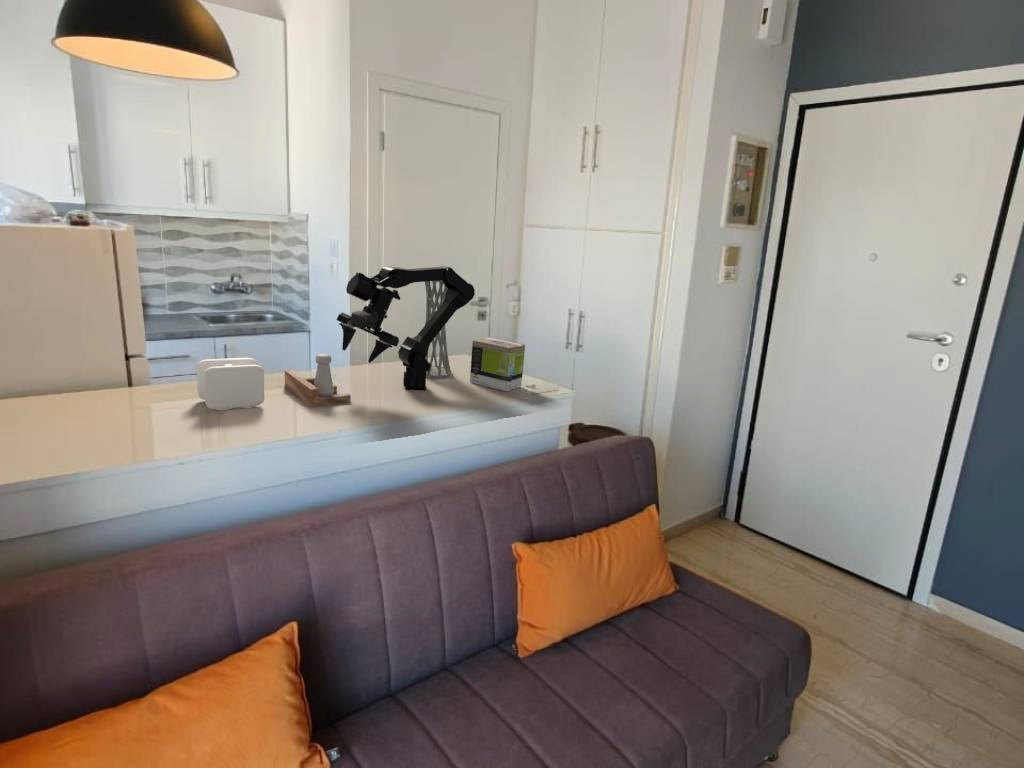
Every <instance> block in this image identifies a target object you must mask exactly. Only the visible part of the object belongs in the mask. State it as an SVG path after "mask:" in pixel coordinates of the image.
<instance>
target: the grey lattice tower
mask: <svg viewBox="0 0 1024 768" xmlns="http://www.w3.org/2000/svg"><path fill="white" fill-rule="evenodd" d="M431 283H432V286H431ZM437 283H439V287H438V290H437ZM424 285H425V292H426V299H425V300H426V303H425V305H426V306H425V308H426V309H425V314H426V315H425V324H424V326H425V325H426V323H427V322H428V321H429V320H430V318H431V317H432V316H433V315H434V313H435V312H436V311H437V310H438V308H439V307H440V306H441V305H442V303H443V302H444V300H445V295H446V292H447V290H448V288H447V287H446V286H445V285H444V283H443V281H442V280H437V281H426V282H424ZM443 288H444V289H443ZM434 299H435V300H434ZM439 300H440V301H439ZM446 333H447V331H446V325H445V326H444V327H443V328H442V329H441V331H440V332H439V333H438V335H437V336H436V337H435V338H434V340H433V341H432V342H431V343H432V352H431V356H430V361H429V353H428V354H427V356H426V358H425V359H426V360H427V361H428V362H429V363H430V364H431V367H430V370H429V371H426V379H433V380H434V379H436V380H437V379H445V378H450V377H451V376H453V372H452V369H451V366H450V360H449V359H450V358H449V355H448V345H447V334H446ZM437 343H438V344H437ZM437 345H438V346H439V355H438V358H437ZM430 346H431V344H430V345H429V347H430ZM433 362H434V365H433Z"/></svg>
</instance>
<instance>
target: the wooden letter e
mask: <svg viewBox="0 0 1024 768" xmlns="http://www.w3.org/2000/svg"><path fill="white" fill-rule="evenodd" d="M314 381H315V376H313V377H306V378H305V377H304V378H303V377H302V376H301V375H300V374H298V373H297V372H295V371H293V370H291V369H287V370H284V388H286V389H287V390H288V391H289V392H291V393H292V394H293V395H295V396H296V397H297V398H299V399H300V400H301V401H303V402H304V403H305V404H307V405H308V407H311V408H312V407H313V408H314V407H321V406H328V405H337V404H344V403H345V404H346V403H351V394H349V393H343V394H337V393H338V391H337V390H338V386H337V385H336V384H333V388H334V393H333V394H336V395H332V396H325V397H318V388H316V387H315V386H314Z"/></svg>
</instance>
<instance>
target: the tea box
mask: <svg viewBox="0 0 1024 768" xmlns="http://www.w3.org/2000/svg"><path fill="white" fill-rule="evenodd" d="M525 349H526V344H524V343H519V342H514V341H509V340H504V339H499V338H493V337H489V336H487V337H483V338H478V339H474V340H472V347H471V359H470V360H471V361H470V373H469V375H470V377H469V382H470V383H472V384H476V385H479V386H484V387H487V388H492V389H495V390H499V391H503V392H509V391H513V390H515V388H516V387H518V386H521V387H522V382H523V375H524V374H523V373H524V363H525V362H524V360H525V351H526V350H525ZM512 389H513V390H512ZM516 389H517V388H516Z"/></svg>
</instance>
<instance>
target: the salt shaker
mask: <svg viewBox="0 0 1024 768" xmlns="http://www.w3.org/2000/svg"><path fill="white" fill-rule="evenodd" d="M315 363H316V364H317V366H316V371H315V376H314V377H315V381H314V386H315V387H316V388H318V397H325V396H334V395H333V394H335V393H334V388H333V385H334V384H333V378H332V373H331V372H332V371H331V367H330V366H331V365H330V364H331V363H332V356H331V355H330V354H327V353H320V354H319V353H318V354H317V355H316V356H315Z"/></svg>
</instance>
